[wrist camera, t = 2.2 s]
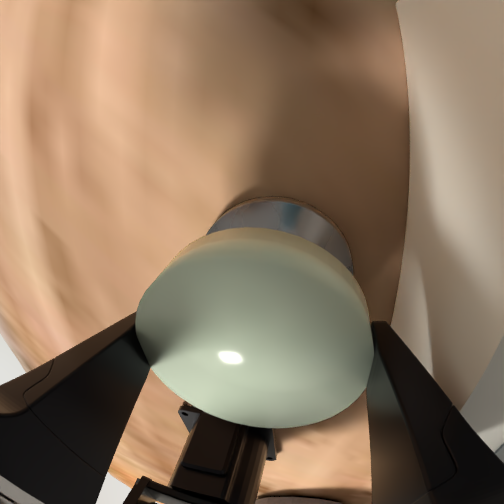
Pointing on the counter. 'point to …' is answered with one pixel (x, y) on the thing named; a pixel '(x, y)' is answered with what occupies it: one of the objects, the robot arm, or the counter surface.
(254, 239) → the pale green domed disc
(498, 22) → the player
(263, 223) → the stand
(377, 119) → the counter surface
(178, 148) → the counter surface
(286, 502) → the small grey backpack
